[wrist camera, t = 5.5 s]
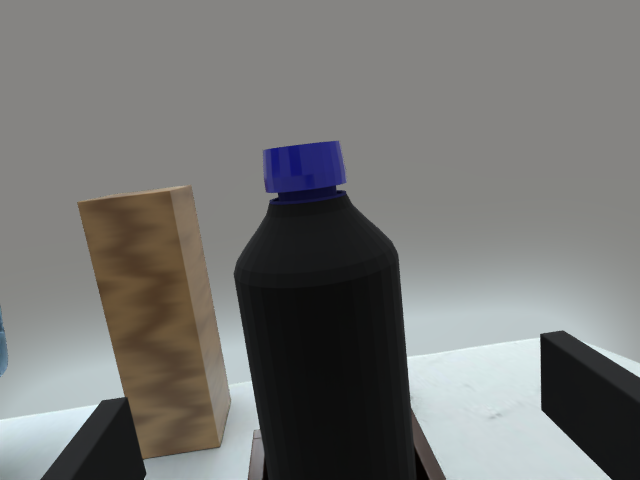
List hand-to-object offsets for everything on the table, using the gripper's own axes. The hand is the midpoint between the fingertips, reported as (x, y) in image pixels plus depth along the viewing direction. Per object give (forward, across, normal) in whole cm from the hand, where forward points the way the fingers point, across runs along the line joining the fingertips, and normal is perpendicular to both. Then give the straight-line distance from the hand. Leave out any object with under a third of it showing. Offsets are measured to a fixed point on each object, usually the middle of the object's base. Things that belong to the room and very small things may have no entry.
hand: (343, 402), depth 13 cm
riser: (+29, -15, -20) cm, 38 cm away
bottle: (+10, 0, -20) cm, 22 cm away
